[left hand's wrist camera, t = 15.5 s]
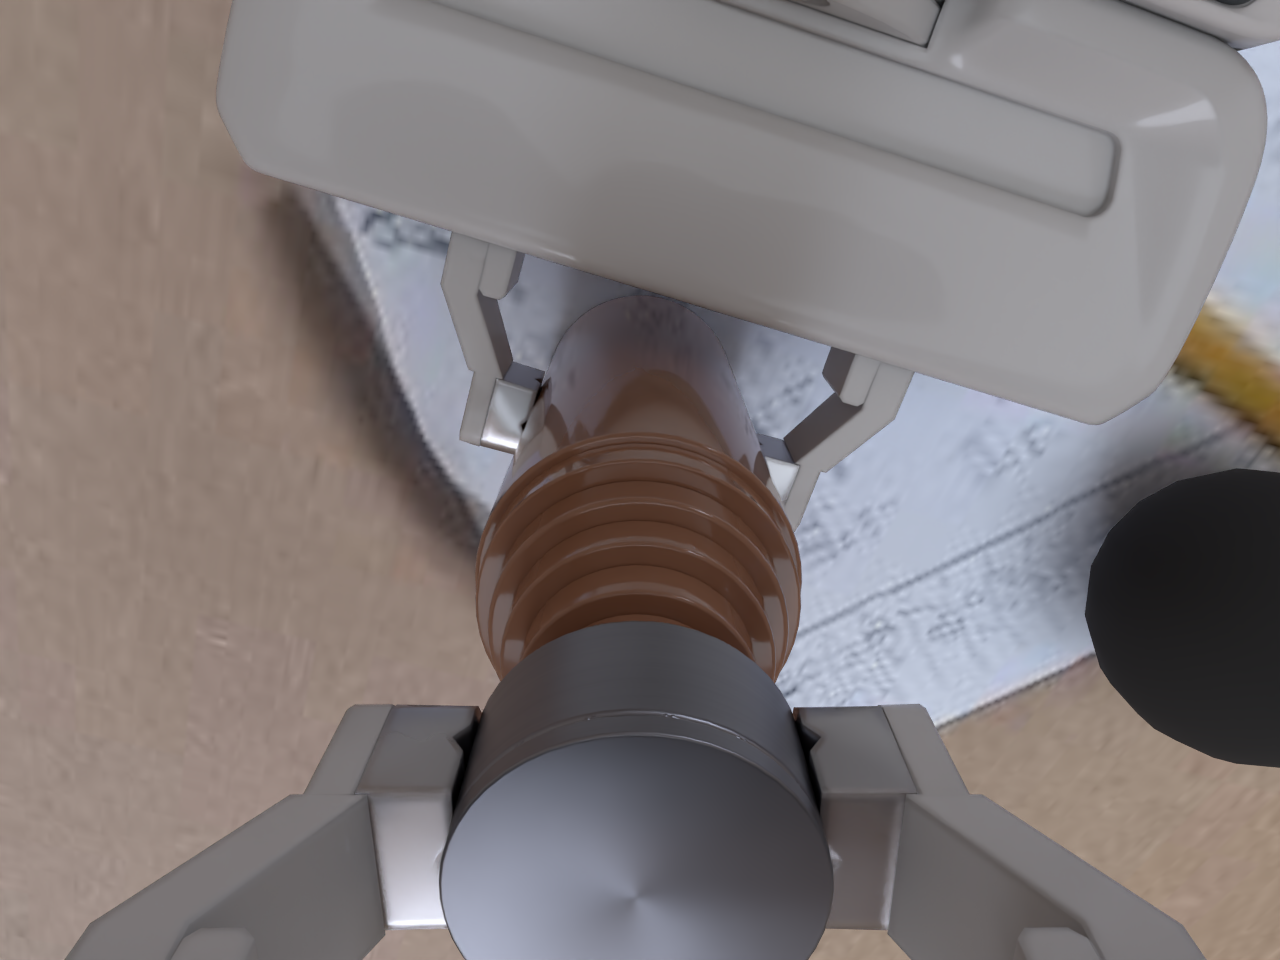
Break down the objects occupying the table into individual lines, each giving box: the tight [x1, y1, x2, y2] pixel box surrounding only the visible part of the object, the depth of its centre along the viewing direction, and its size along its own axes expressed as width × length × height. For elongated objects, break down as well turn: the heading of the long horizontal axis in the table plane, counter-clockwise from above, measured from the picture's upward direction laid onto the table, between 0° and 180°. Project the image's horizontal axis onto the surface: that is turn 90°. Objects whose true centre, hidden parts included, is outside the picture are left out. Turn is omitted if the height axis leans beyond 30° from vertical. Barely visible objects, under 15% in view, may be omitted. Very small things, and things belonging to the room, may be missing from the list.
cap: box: [439, 621, 834, 960], centre depth 10 cm, size 4×4×2 cm
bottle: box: [475, 295, 802, 683], centre depth 18 cm, size 5×5×18 cm
